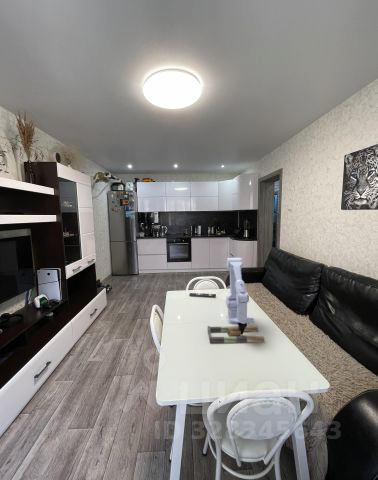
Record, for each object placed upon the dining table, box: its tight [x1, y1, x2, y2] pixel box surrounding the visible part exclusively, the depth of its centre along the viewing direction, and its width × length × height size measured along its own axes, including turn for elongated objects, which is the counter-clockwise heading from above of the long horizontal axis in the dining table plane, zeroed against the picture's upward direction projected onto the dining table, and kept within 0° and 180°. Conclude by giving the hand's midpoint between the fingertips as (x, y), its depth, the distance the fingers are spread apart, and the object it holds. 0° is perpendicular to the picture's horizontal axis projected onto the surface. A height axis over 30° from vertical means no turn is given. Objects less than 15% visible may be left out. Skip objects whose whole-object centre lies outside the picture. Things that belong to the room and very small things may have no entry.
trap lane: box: [207, 325, 265, 344], centre depth 128 cm, size 13×31×3 cm, turn 91°
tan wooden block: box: [227, 325, 242, 337], centre depth 127 cm, size 6×6×4 cm
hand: (241, 333), depth 128 cm, fingers closed
